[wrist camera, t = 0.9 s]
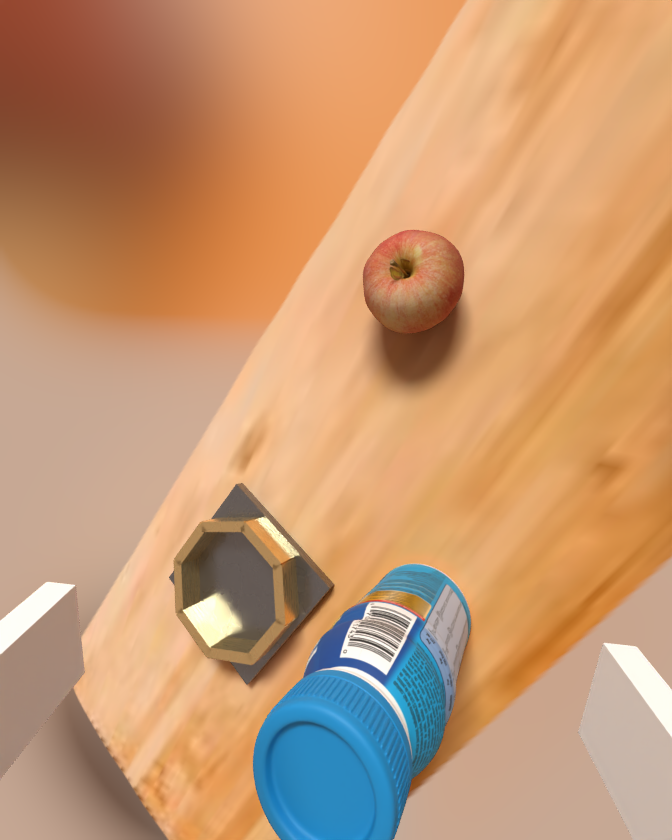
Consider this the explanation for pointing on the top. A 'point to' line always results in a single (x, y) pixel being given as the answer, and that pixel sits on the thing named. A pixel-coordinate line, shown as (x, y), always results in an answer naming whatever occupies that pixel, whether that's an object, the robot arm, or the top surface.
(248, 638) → the flange base
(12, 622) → the robot arm
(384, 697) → the beverage bottle
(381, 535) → the top surface
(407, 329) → the apple
